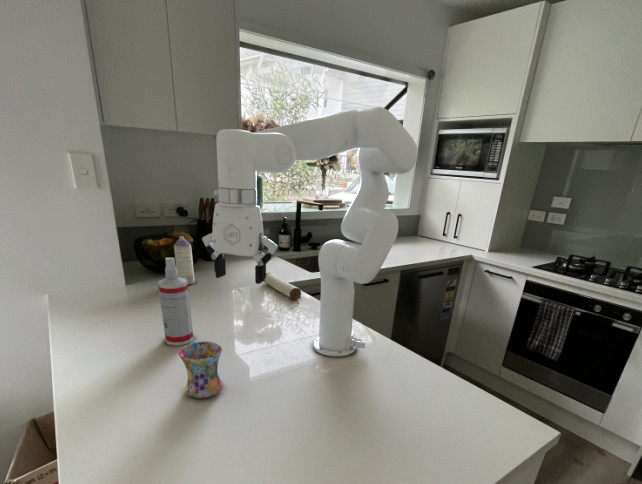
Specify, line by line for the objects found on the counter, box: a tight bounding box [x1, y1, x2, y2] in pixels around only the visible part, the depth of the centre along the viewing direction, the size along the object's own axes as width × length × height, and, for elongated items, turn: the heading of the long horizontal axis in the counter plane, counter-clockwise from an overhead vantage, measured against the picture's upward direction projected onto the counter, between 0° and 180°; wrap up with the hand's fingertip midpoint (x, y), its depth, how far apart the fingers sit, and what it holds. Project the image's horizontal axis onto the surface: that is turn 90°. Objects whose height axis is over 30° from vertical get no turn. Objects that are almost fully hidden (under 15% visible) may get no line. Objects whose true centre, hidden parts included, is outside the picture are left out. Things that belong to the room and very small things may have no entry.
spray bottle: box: [157, 257, 194, 346], centre depth 108 cm, size 8×8×25 cm
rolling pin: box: [263, 272, 302, 301], centre depth 158 cm, size 32×6×5 cm, turn 32°
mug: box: [178, 341, 224, 399], centre depth 88 cm, size 12×9×11 cm
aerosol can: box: [173, 235, 196, 286], centre depth 161 cm, size 7×7×20 cm
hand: (240, 279), depth 83 cm, fingers open, 9 cm apart
